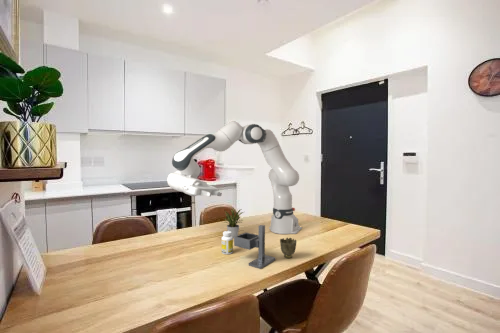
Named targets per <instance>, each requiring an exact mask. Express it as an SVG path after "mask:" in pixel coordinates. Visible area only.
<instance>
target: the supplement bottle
mask: <svg viewBox="0 0 500 333" xmlns="http://www.w3.org/2000/svg"><path fill="white" fill-rule="evenodd" d="M233 253H234V238H233V237H232V236H231V231H227V230H224V231H223V232H222V236H221V254H223V255H231V254H233Z"/></svg>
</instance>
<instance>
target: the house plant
mask: <svg viewBox="0 0 500 333" xmlns="http://www.w3.org/2000/svg"><path fill="white" fill-rule="evenodd" d="M241 210H242V208H241V209H239V210H238V211H237V212H236V213H235V212H234V210H233V209H230V212H231V214H229V212H228V211H226V210H224V212H225V213H224V214H225V218H224V219H223V220H224V221H225V223H227V225H226V231H231V236H232V237H233V239H234V237H235V236H238V235H239V230H240V225H239V224H238V223H243V221H244V220H243V219H240V218H241V214H244V211H243V212H242V211H241Z"/></svg>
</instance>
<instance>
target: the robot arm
mask: <svg viewBox="0 0 500 333" xmlns="http://www.w3.org/2000/svg"><path fill="white" fill-rule="evenodd" d="M237 141H239V142H240V143H242V144H243V145H253V144H257V145H258V146H259V148H260V150H261V152H262V154H263V157H264V158H265V161H266V163H267V165H269V167H271V169H270V170H269V172H268V179H269V182H270V183H271V186H272V188H271V189H272V193H273V208H272V215H271V218H270V226H269V227H268V229H269V230H270V232H272V233H275V234H280V235H290V234H291V235H293V234H295V235H296V234H298V233H299V232H300V231H301V230H302V229H303V226H302V227H300V226H301V225H300V226H299V218H297V216H296V214H295V215H294V212H295V211H296V208H295V207H293V195H292V193H291V191H290V187H293V186H296V185H298V183H299V180H300V174H299V172H298V171H297V170H296V169H295V168H294V167H293V166H292V165H291V164H290V162H289V160H288V158H286V156H285V154H284V152H283V149H282V147H281V145H280V143H279V141H278V138H277V137H276V135H275V134H274V131H272V130H271V129H267V128H266V129H264V128H262V126H261V125H259V124H256V123H252V124H247V125H245V126H242V125H241V124H240V123H239V122H237V121H232V120H231V121H229V122H227V123H226V124H225V125H223V126H222V127H220V128H219V129H218V130H217V131H216V132H214V133H209V134H206V135H203V137H201V138H199V139H197V140H196V141H195V142H193V143H191V144H190V145H188V146H187V147H185V148H184V149H182V150H180V151H177V152H176V153H175V154H173V157H172V161H171V164H172V166H173V167H174V168H175V169H176V171H174V172H171V173H169V174H168V176H167V179H166V182H167V185H168V186H169V188H171V189H173V190H175V191H178V192H181V193H184V194H186V195H188V196H191V197H197V196H206V197H211V196H217V197H221V196H222V195H223V194H222V192H220V191H219V188H218V187H215V186H213V185H210V184H208V183H207V182H205V181H202V180H200V179H198V178H199V175H200V174H201V167H200V166H199V164H198V163H197V162H196V161H195V160H194V158H195V156H197V155H198V154H200V153H201V152H203V151H204V150H206V149H212V150H214V151H216V152H225V151H227V150H228V149H230V148H231V147H232V146H233V145H234V144H235V143H236V142H237Z"/></svg>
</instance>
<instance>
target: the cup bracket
mask: <svg viewBox="0 0 500 333" xmlns="http://www.w3.org/2000/svg"><path fill="white" fill-rule="evenodd" d="M265 243H266V225H264V224H260V225H258V234H255V233H254V234H253V233H250V232H244V233H243V232H242V233H241V234H238V236H235V237H234V238H233V247H238V248H240V249H241V248H242V249H244V250H245V249H246V250H248V251H250V250H252V249H254V248H255V249H256V248H257V252H258V254H257V258H255V259H254V260H251V261H249V262H248V266H249V267H253V268H256V269H259V270H262V269H263V268H265V267H266V266H268V265H269V264H271V263H273V262H274V261H276V259H277V258H276V257H274V256H271V255H267V254H265V253H266V251H265V250H266V244H265Z"/></svg>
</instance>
